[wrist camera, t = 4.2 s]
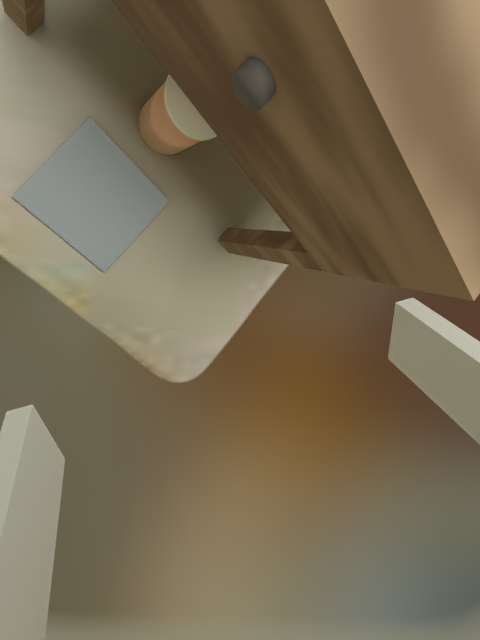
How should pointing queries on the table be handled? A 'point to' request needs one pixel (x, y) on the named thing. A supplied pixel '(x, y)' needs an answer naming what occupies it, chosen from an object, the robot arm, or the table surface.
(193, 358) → the table surface
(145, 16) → the cabinet
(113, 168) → the mat
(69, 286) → the table surface
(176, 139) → the canister
